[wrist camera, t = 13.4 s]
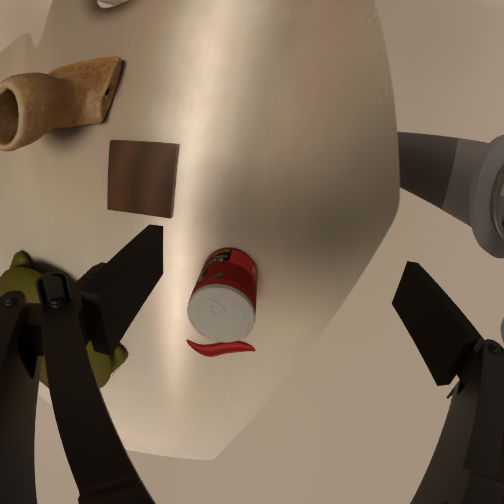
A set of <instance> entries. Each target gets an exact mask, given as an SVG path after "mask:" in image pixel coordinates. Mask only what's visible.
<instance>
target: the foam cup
mask: <svg viewBox="0 0 504 504" xmlns="http://www.w3.org/2000/svg"><path fill="white" fill-rule="evenodd" d="M97 1H100V2H103V3H106V4H111V5H115V4H119V3H122V2H124V1H125V0H97Z"/></svg>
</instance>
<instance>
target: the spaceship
mask: <svg viewBox="0 0 504 504" xmlns="http://www.w3.org/2000/svg"><path fill="white" fill-rule="evenodd" d="M42 275H43V274H41V273H39V272H37V271H35V270H33V269H31V263H30V261H29V259H28V257H27V256H26V255H25V254H24V253H21V252H17V253H16V254H15V255H14V257H13V260H12V263H11V266H10V269H9V270H6V271H5V272H4V273H3V274H2V276H1V277H0V296H2V295H3V294H4V293H6V292H8V291H14V290H17V291H21V292H23V293H24V294H25V296H26V300H27V303H40V302H39V298H38V294H37V290H36V286H35V282H36V280H37V279H38V278H39V277H40V276H42ZM86 349H87V352H88V355H89V359H90V362H91V365H92V368H93V371H94V374H95V377H96V380H97V383H98V386H99V389H100V388H102V387H103V386H104V385H105V384H106V383H107V382H108V380H109V378H110V375H111V373H112V372H113V371H114V370H116V369H117V368H118V367H119V366H120V365H121V364H123V363H124V362H125V360H126V353H125V351H124V350H123V349H122V348H121V347H120V346H119V345H117V347H116V349H115V350H114V352H113V354H112V355H111V356H108V355H105V354H101V353H98V352H95V351H94V350H93V346H92V342H91V340H90V342H89V343H88V345H87V346H86ZM39 380H40V381H41V382H42V383H43V384H44V385H45V386H47V387H48V388H49V384H48V379H47V372H46V365H45V358H44V356H43V359H42V365H41V372H40V378H39Z"/></svg>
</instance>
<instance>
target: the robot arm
mask: <svg viewBox="0 0 504 504" xmlns="http://www.w3.org/2000/svg"><path fill="white" fill-rule="evenodd" d="M490 212H491V220H492V224H493V227H494V229H495V231H496V233H497V234H498V235H499V236H500V237H502V238H503V239H504V164H503V166H502V167H501V168H500V170H499V172H498V174H497V176H496V178H495V181H494V184H493V188H492V193H491V202H490ZM162 275H163V226H158V225H150V224H149V225H148V226H147V227H146V228H145V229H144V230H143V231H141V232H140V233H139V234H138V235H137V236H136V237H135V238H134V239H132V240H131V241H130V242H129V243H128V244H127V245H126V246H125V247H124V248H123V249H121V250H120V251H119V252H118V253H117V254H116V255H115V256H114V257H113V258H112V259H111V260H110V261H109V262H108V263H103V262H102V263H99V264H97V265H95V266H93V267H92V268H91V269H89V270H88V271H87V272H86V274H84V275H83V276H82V277H81V279H79V280H78V281H77V282H76V283H75V284H73V285H72V286H71V283H70V278H69V276H68V274H66V273H64V272H60V271H54V272H49V273H45V274H43V275H42V276H40V277H39V278H38V279H37V280H36V282H35V286H36V290H37V294H38V298H39V302H40V303H27V300H26V296H25V294H24V293H23V292H21V291H17V290H14V291H8V292H6V293H4V294H3V295H2V296H0V504H37V497H36V486H35V467H34V436H35V417H36V404H37V395H38V386H39V378H40V372H41V365H42V359H43V356H44V358H45V365H46V372H47V379H48V384H49V390H50V395H51V400H52V405H53V409H54V414H55V418H56V422H57V426H58V430H59V433H60V437H61V440H62V444H63V447H64V450H65V454H66V457H67V460H68V463H69V465H70V468H71V471H72V474H73V476H74V479H75V482H76V484H77V487H78V490H79V494H80V496H79V498H78V502H79V504H156V503H155V502H154V500H153V499H152V497H151V495H150V494H149V492H148V491H147V489H146V487H145V486H144V484H143V482H142V480H141V478H140V477H139V475H138V473H137V471H136V469H135V468H134V466H133V464H132V462H131V460H130V458H129V456H128V454H127V452H126V450H125V448H124V446H123V444H122V442H121V439H120V437H119V435H118V433H117V431H116V428H115V426H114V424H113V422H112V419H111V417H110V414H109V412H108V410H107V407H106V405H105V402H104V399H103V397H102V394H101V391H100V389H99V386H98V383H97V380H96V377H95V374H94V371H93V368H92V365H91V362H90V359H89V355H88V352H87V349H86V346H87V345H88V343H89V342H90V340H91V342H92V346H93V350H94V351H95V352H98V353H101V354H105V355H108V356H111V355H112V354H113V352H114V350H115V349H116V347H117V345H118V344H119V342H120V340H121V339H122V337H123V336H124V334H125V332H126V331H127V329H128V327H129V326H130V324H131V323H132V321H133V319H134V318H135V316H136V315H137V313H138V312H139V310H140V308H141V307H142V305H143V304H144V302H145V301H146V299H147V298H148V296H149V294H150V293H151V291H152V290H153V288H154V287H155V285H156V284H157V282H158V281H159V279H160V278H161V276H162ZM392 305H393V306H394V308H395V310H396V312H397V313H398V315H399V316H400V318H401V320H402V321H403V323H404V325H405V327H406V329H407V330H408V332H409V334H410V336H411V337H412V339H413V341H414V342H415V344H416V346H417V348H418V350H419V352H420V354H421V355H422V357H423V359H424V361H425V363H426V365H427V367H428V369H429V371H430V372H431V374H432V376H433V378H434V380H435V382H436V384H437V386H441V385H449V384H450V383H451V382H452V380H453V379H454V377H455V376H456V374H457V376H458V377H459V379H460V380H459V381H458V382H457V384H456V385H455V387H454V388H453V389H452V391H451V392H450V393H449V395H448V396H447V398H449V397H450V396H452V395H453V396H452V399H451V404H450V407H449V411H448V414H447V417H446V420H445V424H444V427H443V429H442V432H441V435H440V438H439V441H438V444H437V446H436V449H435V452H434V454H433V456H432V459H431V461H430V464H429V466H428V468H427V471H426V473H425V475H424V477H423V479H422V482H421V484H420V486H419V488H418V490H417V492H416V494H415V496H414V498H413V500H412V501H411V503H410V504H504V348H503V347H502V346H501V345H500V344H499V343H497V342H495V341H494V340H491V339H487V340H484V339H483V338H482V336H481V335H480V334H479V333H478V331H477V330H476V329H475V327H474V326H473V325H472V324H471V322H470V321H469V320H468V319H467V317H466V316H465V315H464V314H463V313H462V311H461V310H460V309H459V308H458V307H457V305H456V304H455V303H454V302H453V301H452V300H451V298H450V297H449V296H448V295H447V294H446V293H445V292H444V291H443V290H442V288H441V287H440V286H439V285H438V284H437V283H436V282H435V281H434V279H432V277H431V276H430V275H429V274H428V273H427V272H426V271H425V270H424V269H423V268H422V267H421V266H420V265H419V263H415V262H409V261H407V264H406V266H405V269H404V272H403V275H402V278H401V280H400V283H399V286H398V288H397V291H396V294H395V296H394V299H393V301H392ZM501 335H502V339H503V342H504V319H503V321H502V323H501Z"/></svg>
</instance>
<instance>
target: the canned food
mask: <svg viewBox="0 0 504 504" xmlns="http://www.w3.org/2000/svg"><path fill="white" fill-rule="evenodd" d="M256 295H257V270H256V268H255V265H254V264H253V262H252V261H251V259H250V258H249V257H248V256H247V255H245V254H244V253H242V252H240V251H238V250H235V249H222V250H219V251H217V252H215V253H213V254H212V255H210V256H209V257H208V259H207V260H206V262H205V264H204V266H203V269H202V271H201V273H200V275H199V278H198V280H197V283H196V285H195V287H194V290H193V292H192V294H191V297H190V300H189V303H188V309H187V312H188V317H189V321H190V322H191V324H192V326H193V327H194V328H195V330H196V331H198V332H199V333H200V334H201V335H203V336H204V337H206V338H208V339H210V340H213V341H217V342H234V341H238V340H240V339H242V338H244V337H246V336H247V335H248V334H249V333H250V331H251V330H252V328H253V325H254V322H255V314H256Z"/></svg>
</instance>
